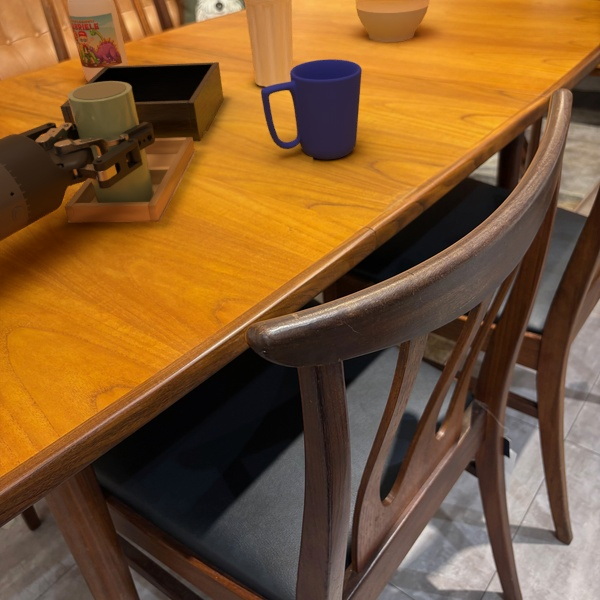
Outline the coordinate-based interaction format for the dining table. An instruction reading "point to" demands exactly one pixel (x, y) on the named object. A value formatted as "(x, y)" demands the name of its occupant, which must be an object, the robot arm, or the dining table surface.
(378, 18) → the bowl
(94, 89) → the tumbler
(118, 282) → the dining table surface
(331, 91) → the mug
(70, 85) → the dining table surface
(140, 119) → the dark brown open box
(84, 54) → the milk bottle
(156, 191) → the divided wooden tray
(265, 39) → the cup
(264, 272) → the dining table surface
